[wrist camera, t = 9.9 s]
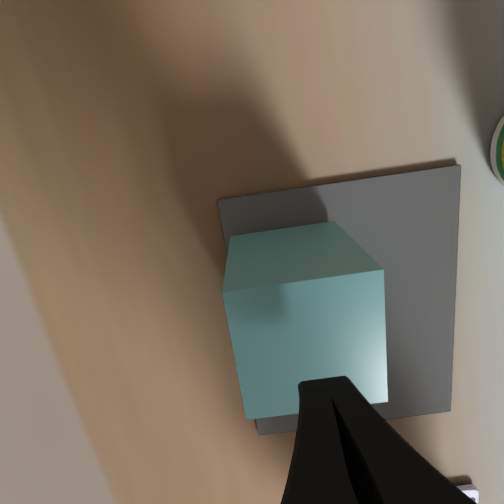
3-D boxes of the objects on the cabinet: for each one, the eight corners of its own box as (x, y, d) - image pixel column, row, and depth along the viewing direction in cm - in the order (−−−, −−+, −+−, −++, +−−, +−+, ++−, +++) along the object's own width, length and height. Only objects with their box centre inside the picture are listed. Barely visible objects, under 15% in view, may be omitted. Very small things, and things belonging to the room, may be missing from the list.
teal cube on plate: (341, 314, 19) (387, 401, 13) (246, 327, 19) (246, 419, 13) (334, 220, 18) (383, 269, 11) (230, 236, 18) (221, 292, 11)
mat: (448, 407, 22) (450, 411, 22) (258, 431, 23) (258, 435, 22) (457, 164, 18) (461, 164, 17) (217, 199, 18) (217, 200, 18)
